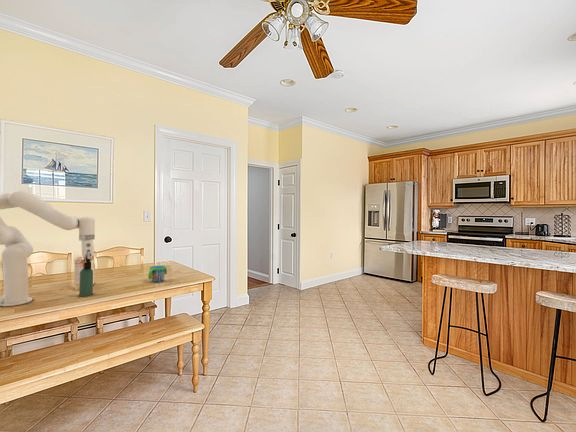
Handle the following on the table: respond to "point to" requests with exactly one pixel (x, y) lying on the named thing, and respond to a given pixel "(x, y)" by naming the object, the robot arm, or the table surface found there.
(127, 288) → the table surface
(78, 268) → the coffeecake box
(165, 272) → the snack cup
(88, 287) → the bottle
